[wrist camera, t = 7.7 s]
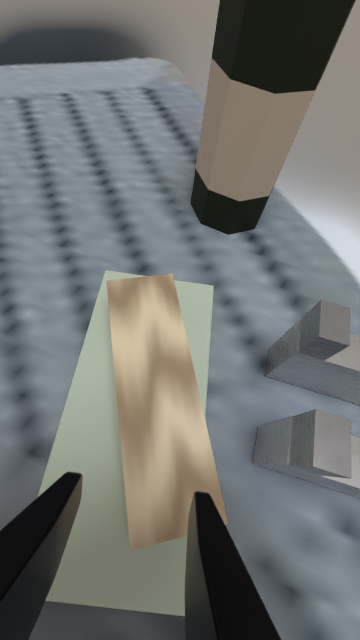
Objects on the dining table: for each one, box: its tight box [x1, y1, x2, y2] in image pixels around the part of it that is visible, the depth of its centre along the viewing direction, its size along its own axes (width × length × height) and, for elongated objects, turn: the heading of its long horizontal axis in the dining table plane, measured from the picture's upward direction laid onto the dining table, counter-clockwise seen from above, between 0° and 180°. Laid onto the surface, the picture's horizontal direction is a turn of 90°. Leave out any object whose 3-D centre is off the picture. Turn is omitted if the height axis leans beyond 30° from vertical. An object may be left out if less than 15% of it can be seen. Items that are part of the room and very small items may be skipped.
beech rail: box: [106, 274, 228, 551], centre depth 18 cm, size 16×4×5 cm
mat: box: [37, 271, 214, 616], centre depth 20 cm, size 22×10×1 cm, turn 174°
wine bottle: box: [191, 0, 355, 234], centre depth 17 cm, size 8×8×30 cm
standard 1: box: [265, 300, 360, 405], centre depth 19 cm, size 2×8×8 cm, turn 74°
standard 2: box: [253, 409, 360, 498], centre depth 16 cm, size 2×8×8 cm, turn 74°
